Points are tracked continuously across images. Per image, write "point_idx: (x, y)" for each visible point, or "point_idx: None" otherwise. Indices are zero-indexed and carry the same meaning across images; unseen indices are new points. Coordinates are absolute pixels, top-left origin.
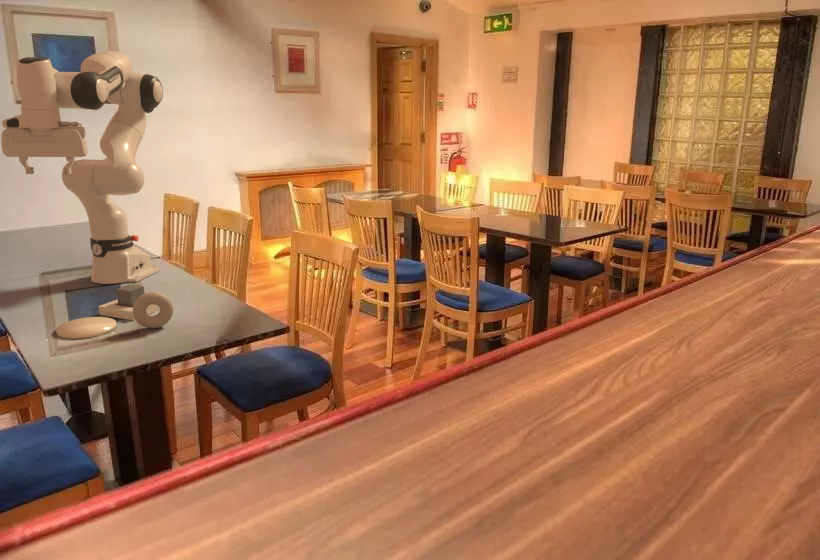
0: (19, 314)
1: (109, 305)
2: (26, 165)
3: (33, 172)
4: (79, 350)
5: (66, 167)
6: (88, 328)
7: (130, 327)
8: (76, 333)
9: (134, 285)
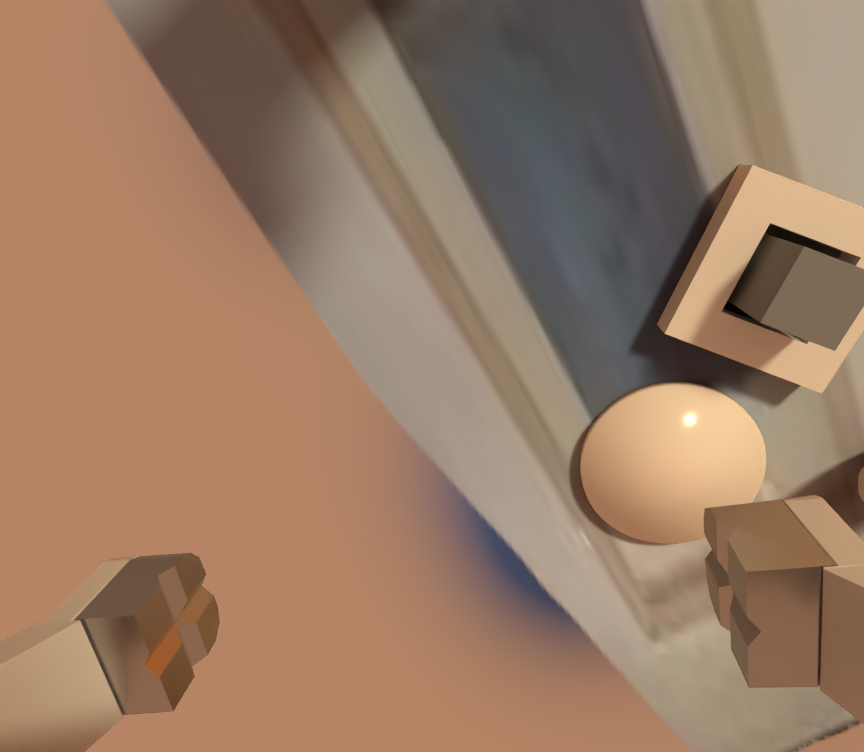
0: (370, 327)
1: (705, 322)
2: (81, 736)
3: (191, 574)
4: (710, 609)
5: (828, 687)
6: (687, 492)
7: (811, 445)
8: (666, 531)
9: (832, 262)
